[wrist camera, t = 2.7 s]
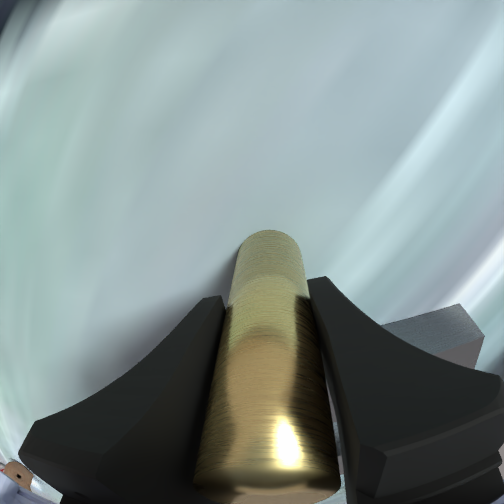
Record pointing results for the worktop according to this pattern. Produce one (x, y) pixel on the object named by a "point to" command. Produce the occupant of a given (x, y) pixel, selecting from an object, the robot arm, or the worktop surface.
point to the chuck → (434, 342)
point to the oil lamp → (19, 474)
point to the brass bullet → (268, 388)
